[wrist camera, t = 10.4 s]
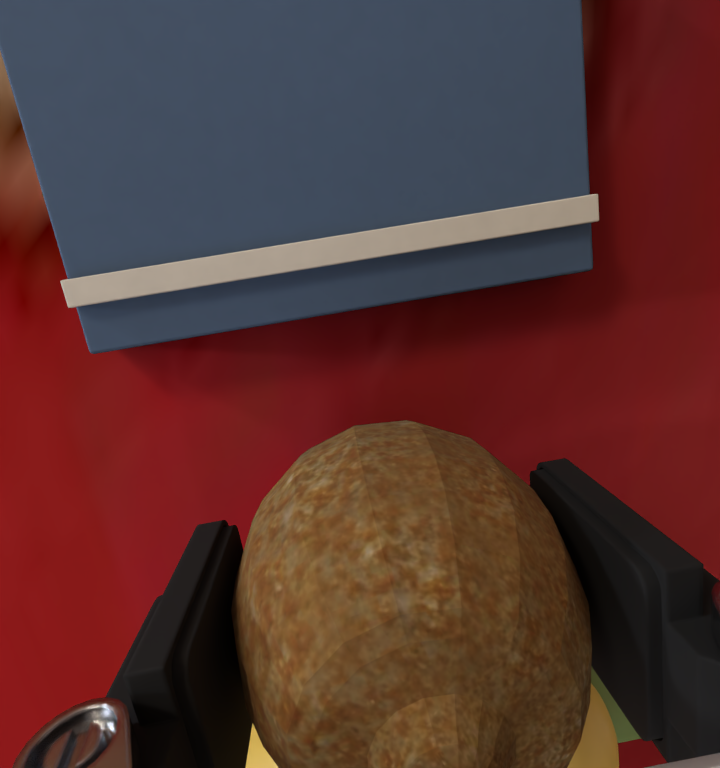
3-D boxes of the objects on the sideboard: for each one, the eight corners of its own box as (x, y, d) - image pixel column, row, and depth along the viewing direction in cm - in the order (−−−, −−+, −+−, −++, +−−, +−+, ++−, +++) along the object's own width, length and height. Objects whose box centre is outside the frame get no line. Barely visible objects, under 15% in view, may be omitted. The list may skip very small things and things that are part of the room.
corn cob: (634, 582, 15) (757, 705, 11) (637, 697, 16) (750, 850, 12) (161, 673, 15) (94, 840, 10) (196, 785, 16) (148, 979, 11)
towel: (549, -93, 11) (584, -150, 9) (570, 270, 13) (602, 270, 11) (7, -17, 10) (-44, -64, 9) (110, 347, 12) (82, 357, 11)
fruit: (229, 421, 12) (71, 671, 5) (462, 352, 12) (690, 486, 5) (302, 620, 14) (276, 1062, 6) (511, 557, 14) (747, 919, 6)
